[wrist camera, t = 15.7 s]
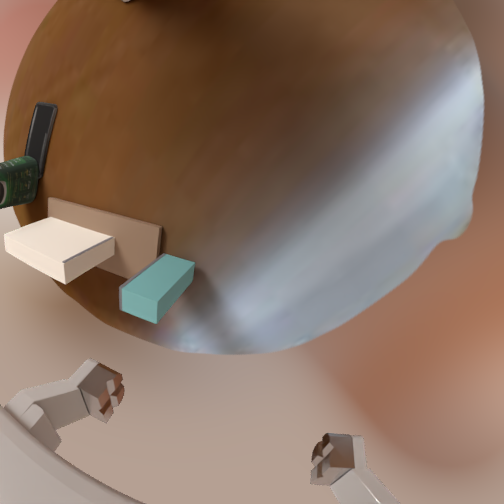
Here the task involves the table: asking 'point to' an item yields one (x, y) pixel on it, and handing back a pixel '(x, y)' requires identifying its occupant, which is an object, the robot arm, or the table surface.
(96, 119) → the table surface
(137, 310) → the teal rectangular block
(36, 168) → the coffee jar
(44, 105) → the phone
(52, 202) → the stand
